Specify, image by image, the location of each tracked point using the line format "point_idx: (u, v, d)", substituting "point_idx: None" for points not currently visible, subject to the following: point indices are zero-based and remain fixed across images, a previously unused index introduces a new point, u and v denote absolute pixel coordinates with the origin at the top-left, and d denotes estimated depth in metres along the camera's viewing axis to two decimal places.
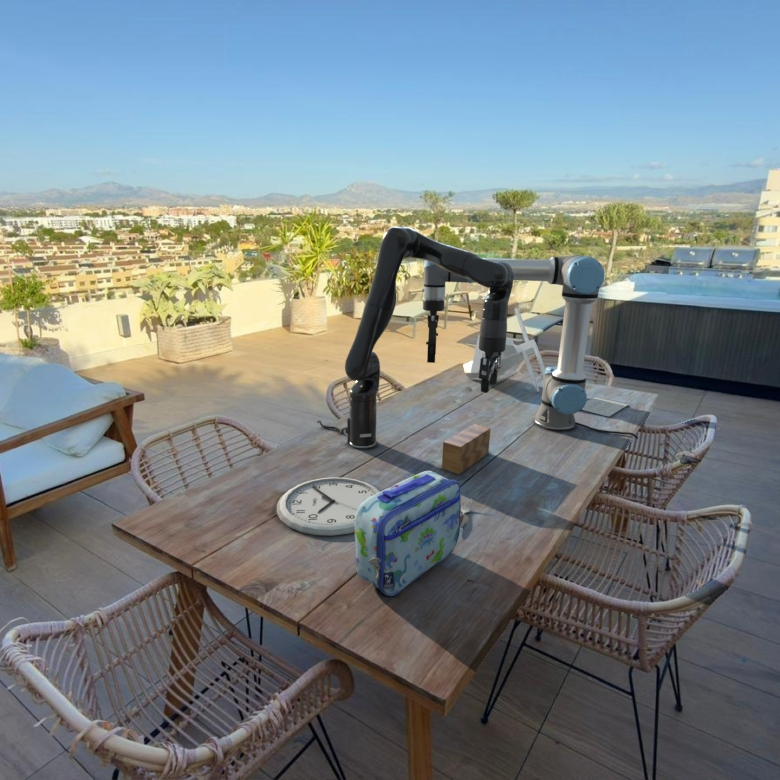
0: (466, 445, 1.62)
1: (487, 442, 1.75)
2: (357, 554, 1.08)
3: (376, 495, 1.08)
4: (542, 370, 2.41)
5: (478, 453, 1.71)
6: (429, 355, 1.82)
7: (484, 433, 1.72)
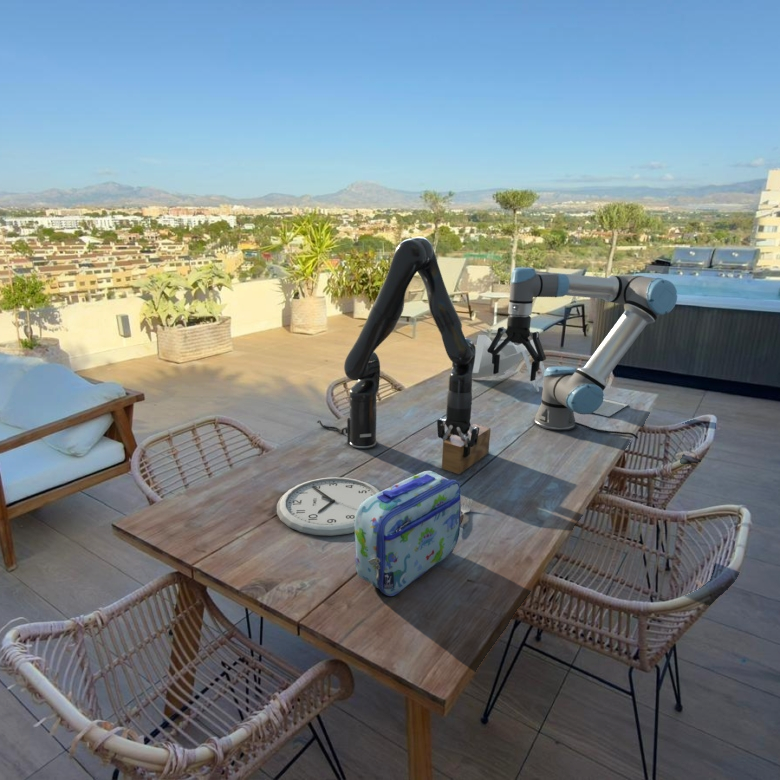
0: None
1: (487, 442, 1.75)
2: (357, 554, 1.08)
3: (376, 495, 1.08)
4: (542, 370, 2.41)
5: (478, 453, 1.71)
6: (533, 373, 1.75)
7: (484, 433, 1.72)
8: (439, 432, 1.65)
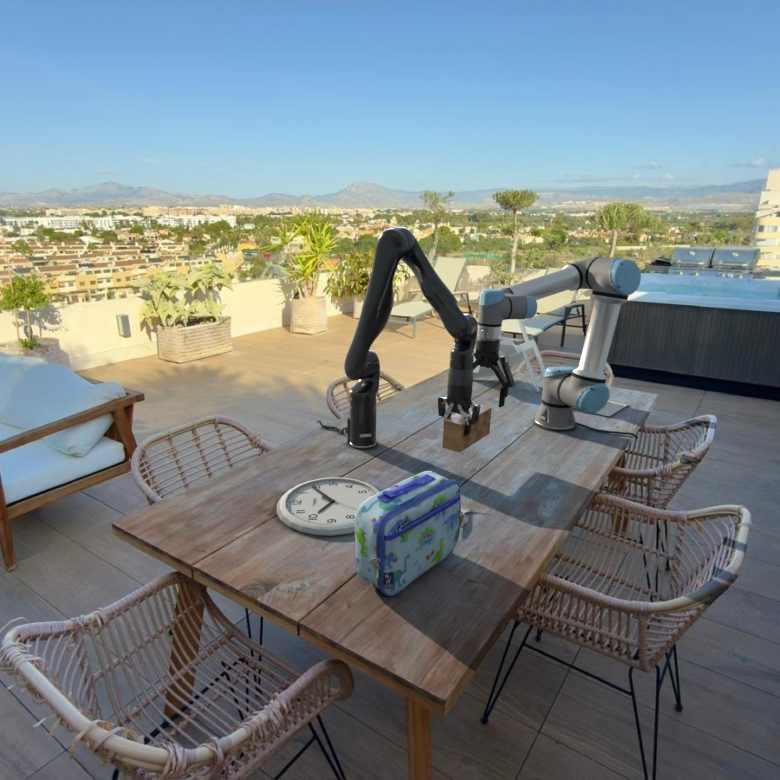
0: None
1: (488, 422, 1.73)
2: (357, 554, 1.08)
3: (376, 495, 1.08)
4: (542, 370, 2.41)
5: (479, 432, 1.69)
6: (502, 399, 1.68)
7: (485, 412, 1.70)
8: (440, 410, 1.63)
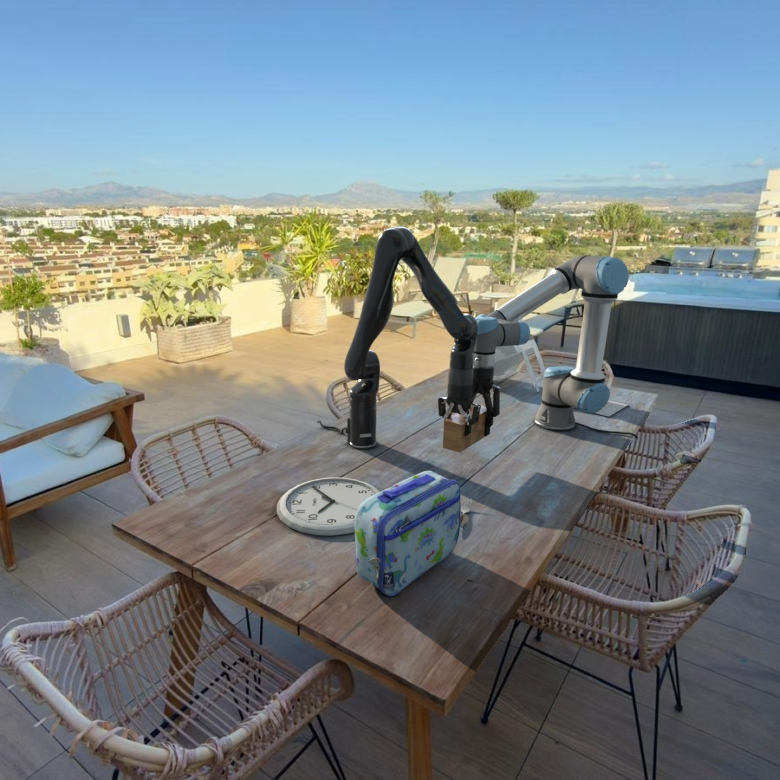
0: None
1: None
2: (357, 554, 1.08)
3: (376, 495, 1.08)
4: (542, 370, 2.41)
5: (479, 432, 1.69)
6: (487, 428, 1.71)
7: (485, 412, 1.70)
8: (440, 410, 1.63)
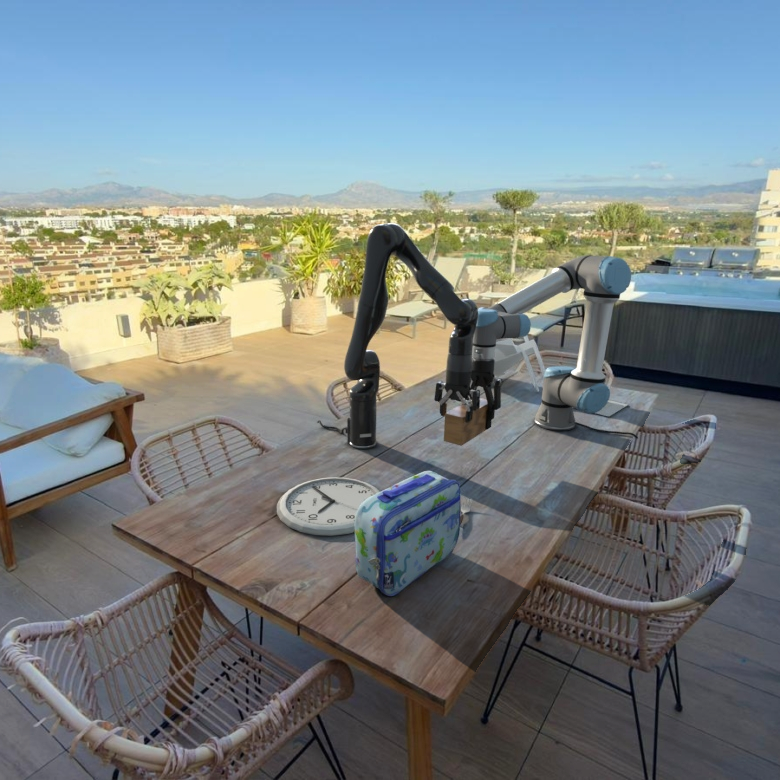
0: None
1: None
2: (357, 554, 1.08)
3: (376, 495, 1.08)
4: (542, 370, 2.41)
5: (480, 425, 1.68)
6: (489, 421, 1.71)
7: (487, 405, 1.69)
8: (436, 395, 1.61)
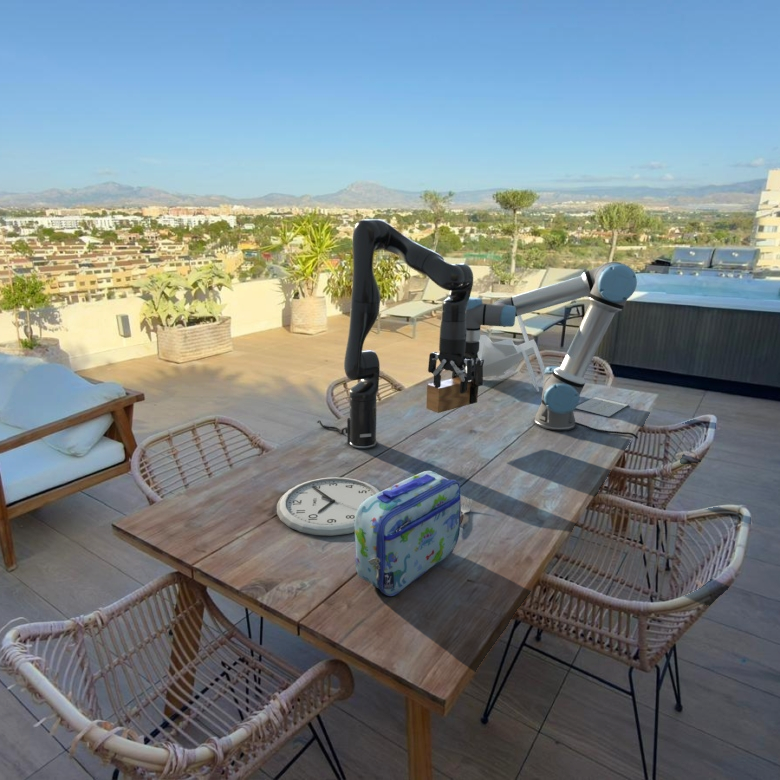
0: (446, 388, 1.85)
1: None
2: (357, 554, 1.08)
3: (376, 495, 1.08)
4: (542, 370, 2.41)
5: (462, 399, 1.92)
6: (472, 396, 1.94)
7: (470, 382, 1.92)
8: (430, 366, 1.54)
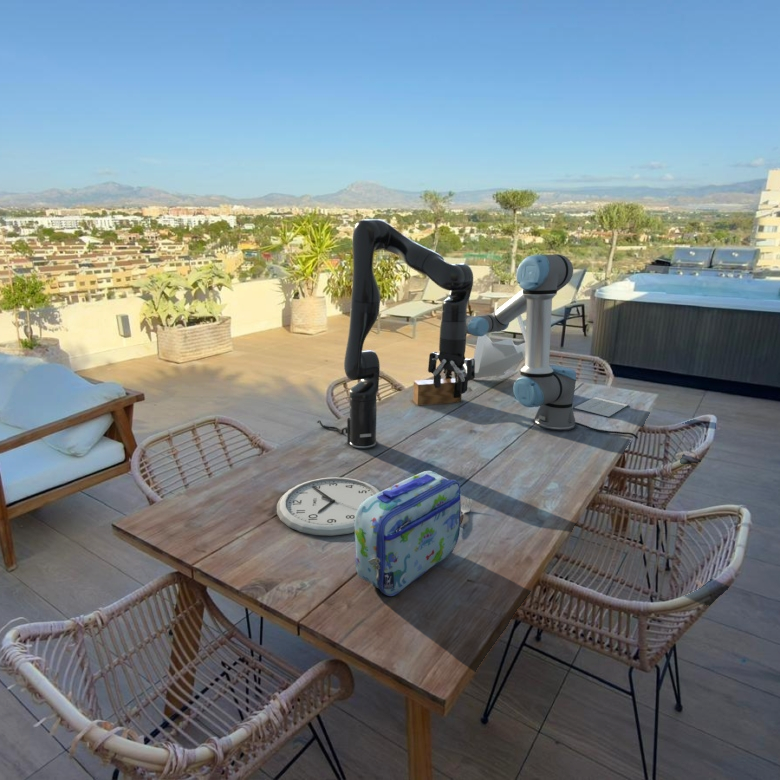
0: (426, 386, 2.23)
1: None
2: (357, 554, 1.08)
3: (376, 495, 1.08)
4: None
5: (444, 397, 2.27)
6: (456, 392, 2.25)
7: (453, 383, 2.26)
8: (430, 366, 1.54)
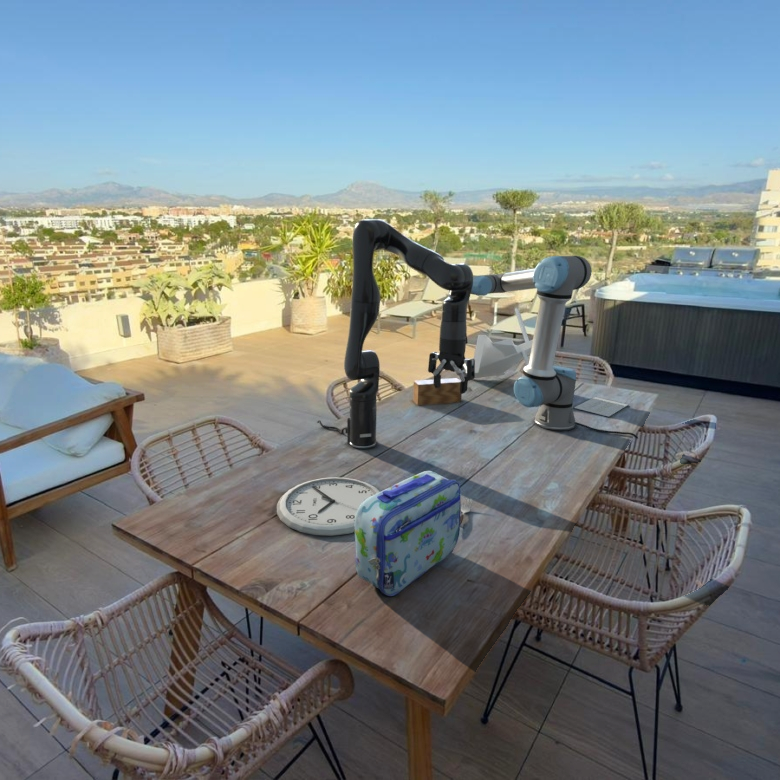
0: (426, 386, 2.23)
1: (458, 392, 2.28)
2: (357, 554, 1.08)
3: (376, 495, 1.08)
4: None
5: (444, 397, 2.27)
6: None
7: (453, 383, 2.26)
8: (430, 366, 1.54)
